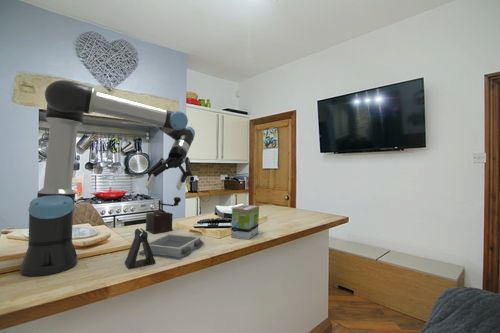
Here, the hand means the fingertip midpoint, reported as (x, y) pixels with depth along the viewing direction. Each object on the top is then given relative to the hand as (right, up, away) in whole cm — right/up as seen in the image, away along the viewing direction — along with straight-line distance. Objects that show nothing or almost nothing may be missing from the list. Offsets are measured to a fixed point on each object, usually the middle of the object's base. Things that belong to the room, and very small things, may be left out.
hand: (162, 188), depth 105 cm
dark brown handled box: (-11, -26, +35) cm, 45 cm away
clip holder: (+4, -26, +3) cm, 26 cm away
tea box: (+33, -27, +28) cm, 51 cm away
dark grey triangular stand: (-3, -26, -14) cm, 30 cm away
